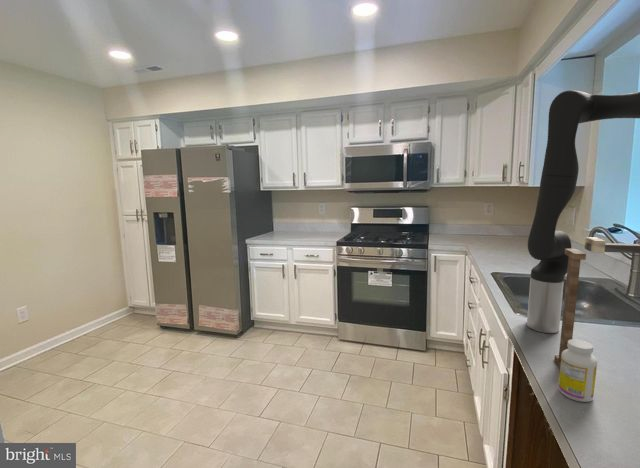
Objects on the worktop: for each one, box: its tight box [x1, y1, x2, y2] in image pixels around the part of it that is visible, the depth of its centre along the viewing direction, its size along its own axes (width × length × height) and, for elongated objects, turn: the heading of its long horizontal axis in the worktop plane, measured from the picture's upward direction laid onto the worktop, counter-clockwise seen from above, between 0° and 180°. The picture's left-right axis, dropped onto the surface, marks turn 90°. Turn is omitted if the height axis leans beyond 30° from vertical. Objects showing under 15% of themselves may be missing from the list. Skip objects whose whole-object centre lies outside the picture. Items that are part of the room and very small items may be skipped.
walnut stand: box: [554, 248, 587, 368], centre depth 89 cm, size 6×2×32 cm, turn 162°
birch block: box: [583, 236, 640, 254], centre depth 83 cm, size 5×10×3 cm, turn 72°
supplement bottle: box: [558, 338, 598, 403], centre depth 79 cm, size 7×7×13 cm
